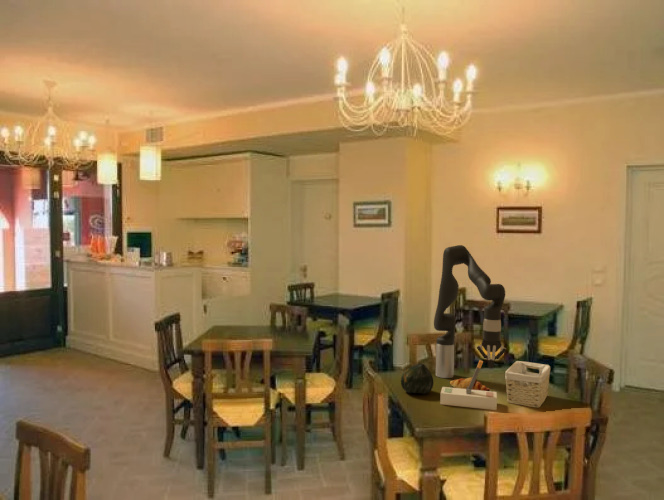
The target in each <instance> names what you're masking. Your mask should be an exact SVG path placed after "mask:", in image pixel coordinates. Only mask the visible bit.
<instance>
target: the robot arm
mask: <svg viewBox="0 0 664 500" xmlns="http://www.w3.org/2000/svg"><path fill="white" fill-rule="evenodd" d="M462 264H464V265H465V266H466V267H467V276H468V278H469V280H470V282H472V283H473V284H474V285H475V287H476V288H477V291H478V292H479V295H480V296H481V299H483V300H485V301H491V303H490V304H488V305H486V306H484V310H483V325H482V341H481V343H480V344H478V345H477V346H476V349H477V350H478V352H479V354H480V356H482V357H483V358H484V359H486V360H487V367H488V369H494V368H495V360H500V358H501V357H502V356H503V355H504V354H505V352H507V348H506V347H504V346H503V345H502V342H501V337H502V336H501V334H502V321H501V318H502V317H501V316H502V314H501V311H502V308H503V305H504V302H505V299H506V298H505V297H506V288H505V287H504V286H503V285H502V284H501V283H492V280H491V278H490V276H489V275H488V274H487V273H486V272H485V271H484V270H483V269H482V268H481V267H480V266H479V265H478V263H477V261H476V260H475V258H474V256H473V255H472V254H471V252H470V251H469V249H468V248H467V247H466V246H464V245H462V244H460V245H452V246H448V247H446V248H445V249H444V250H443V253H442V269H441V277H440V284H439V289H438V290H439V291H438V298H437V305H436V308H435V309H436V310H435V314H434V318H433V319H434V320H433V327H434V329H435V330H436V331H437V332H438V331H439V332H446V333H444V334H443V335H440V336H438V337H437V338H436V344H435V345H436V347H435V348H436V349H435V353H436V354H435V376H436V377H437V378H441V379H452V378H454V370H455V369H454V367H455V366H454V365H455V364H454V363H455V335H456V334H455V333H456V322H457V321H456V316H455V314H454V313H452V312H451V313H448V312H446V311H447V309H448V308H449V307H450V306H452V304H453V303H454V302H456V299H457V298H458V295H459V288H460V287H459V282H458V280H457V278H456V277H455V275H454V274H453V268H454V266H458V265H462ZM483 349H484V350H483ZM499 350H500V351H499ZM485 351H486V352H487V354H486V352H485ZM498 351H499V352H498ZM497 352H498V353H497ZM496 353H497V354H496Z"/></svg>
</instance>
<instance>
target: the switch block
mask: <svg viewBox="0 0 664 500" xmlns="http://www.w3.org/2000/svg"><path fill="white" fill-rule="evenodd" d="M497 393H498V391H491V390H490V391H481V390H471V389H468V387H467V389H460V388H454V387H448V386H442V387H441V391H440V395H439V396H440V398H439V399H440V400H439V402H440V403H439V404H440V405H442V406H443V405H444V406H445V405H446V406H452V407H453V406H455V407H463V408H473V409H483V410H493V411H497V410H498V409H497V407H498V406H497V404H498V397H497V396H498V394H497Z"/></svg>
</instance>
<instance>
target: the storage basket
mask: <svg viewBox="0 0 664 500" xmlns="http://www.w3.org/2000/svg"><path fill="white" fill-rule="evenodd" d="M527 369H533V370H538V372H539V373H536V372H530V371H527ZM550 374H551V366H550V365H549V364H542V363H537V362H530V361H520V360H516V361H515V362H514V363H512V365H511V366H509V367H508V369H506V370H505V376H504V378H505V385H506V399H507V403H510V404H513V405H519V406H525V407H531V408H540V407H541V406H542V405H543V404H544V402H545V400H546V398H547V397H548V395H549V385H550Z"/></svg>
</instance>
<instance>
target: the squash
mask: <svg viewBox="0 0 664 500" xmlns="http://www.w3.org/2000/svg"><path fill="white" fill-rule="evenodd" d="M400 384H401V387H402V389H403V390H404V391H405V392H407V393H408V394H419V395H426V394H428V393H430V392H431V390H432V389H433V387H434V378H433V374H432V372H431V371H430V369H429V368H428V367H427V365H425V363H417V364H415V365H413V366H410V367H408V368H407V369H406V370H404V372H403V373H402V375H401V378H400Z"/></svg>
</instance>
